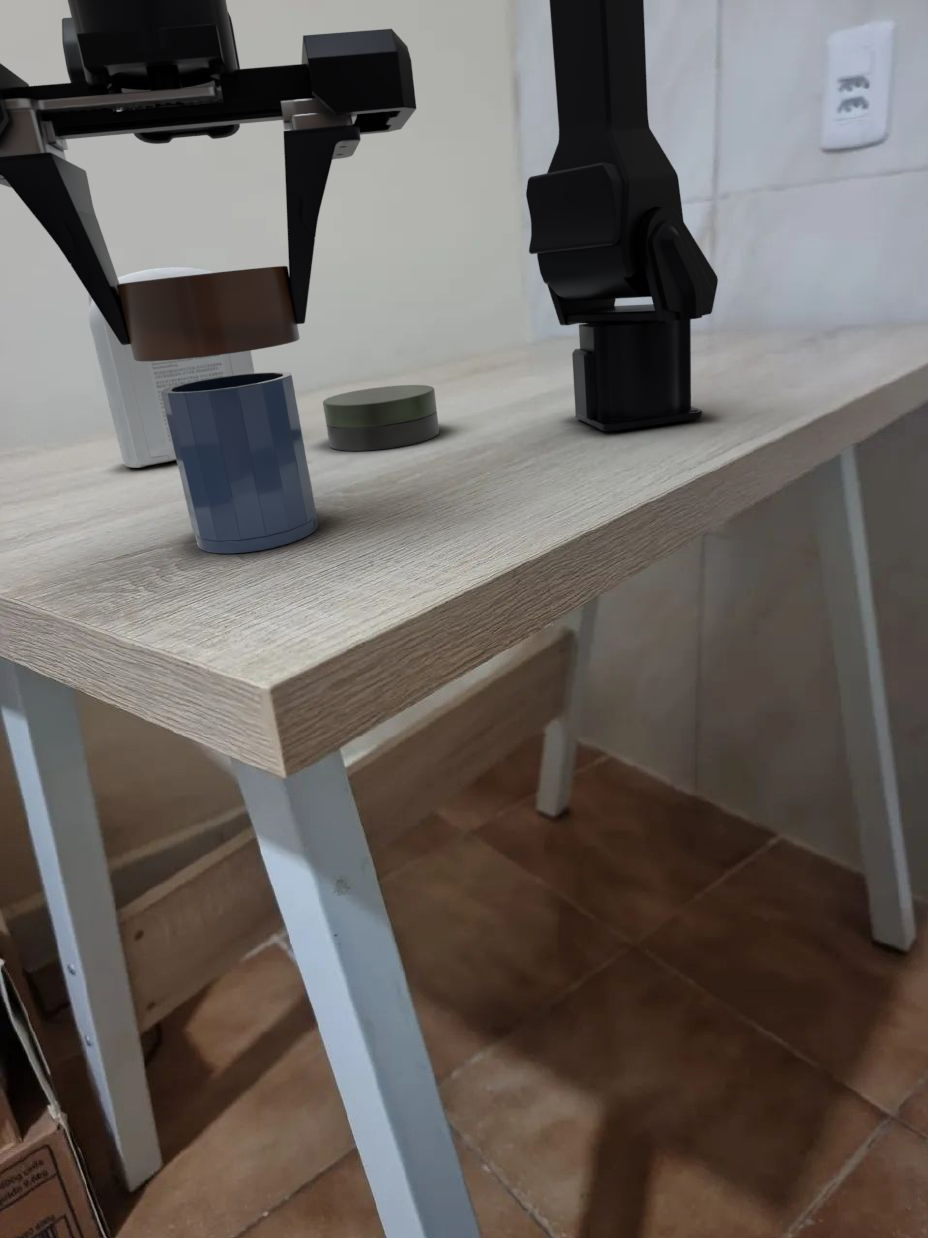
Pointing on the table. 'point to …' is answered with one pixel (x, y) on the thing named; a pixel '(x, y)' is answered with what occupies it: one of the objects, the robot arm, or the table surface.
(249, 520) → the blue cup
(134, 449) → the photo printer
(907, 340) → the table surface
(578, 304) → the robot arm
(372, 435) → the green and grey disc
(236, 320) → the walnut chip
